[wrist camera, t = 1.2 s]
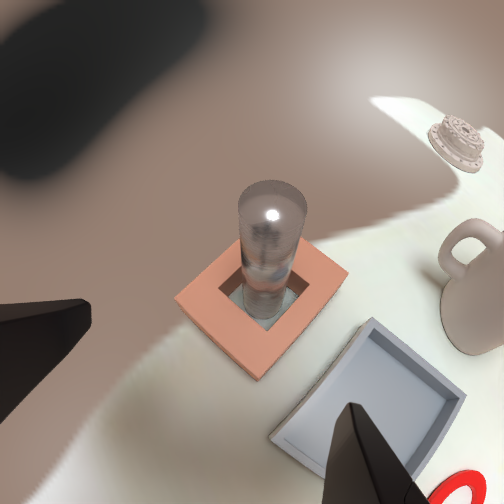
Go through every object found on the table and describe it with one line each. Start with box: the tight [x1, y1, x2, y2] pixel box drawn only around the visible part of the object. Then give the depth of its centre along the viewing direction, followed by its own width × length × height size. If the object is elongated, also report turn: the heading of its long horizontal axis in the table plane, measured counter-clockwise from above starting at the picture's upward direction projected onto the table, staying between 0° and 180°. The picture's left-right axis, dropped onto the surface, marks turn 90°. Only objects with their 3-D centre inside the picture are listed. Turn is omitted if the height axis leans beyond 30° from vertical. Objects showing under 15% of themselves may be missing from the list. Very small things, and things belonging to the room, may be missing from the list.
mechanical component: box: [428, 115, 484, 173], centre depth 33 cm, size 10×4×10 cm
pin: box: [238, 180, 307, 319], centre depth 18 cm, size 3×3×12 cm
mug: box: [438, 218, 504, 355], centre depth 18 cm, size 12×8×11 cm
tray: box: [268, 317, 467, 481], centre depth 17 cm, size 11×11×2 cm
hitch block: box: [174, 237, 349, 382], centre depth 22 cm, size 10×8×3 cm
